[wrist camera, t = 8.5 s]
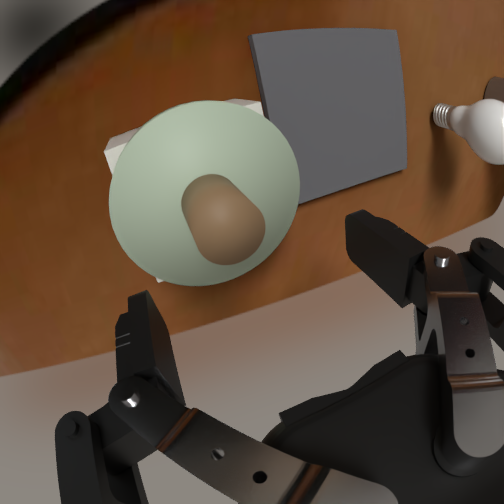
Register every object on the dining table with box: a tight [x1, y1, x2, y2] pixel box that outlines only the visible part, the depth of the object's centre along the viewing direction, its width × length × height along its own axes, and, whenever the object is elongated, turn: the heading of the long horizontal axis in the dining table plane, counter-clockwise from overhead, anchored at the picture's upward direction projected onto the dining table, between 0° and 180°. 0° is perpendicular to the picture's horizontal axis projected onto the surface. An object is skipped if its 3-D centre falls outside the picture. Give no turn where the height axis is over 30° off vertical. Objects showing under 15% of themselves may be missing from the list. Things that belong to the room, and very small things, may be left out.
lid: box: [109, 100, 300, 286], centre depth 16 cm, size 11×11×5 cm
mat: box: [248, 28, 407, 204], centre depth 23 cm, size 14×14×1 cm
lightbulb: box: [433, 99, 504, 165], centre depth 22 cm, size 6×6×11 cm
